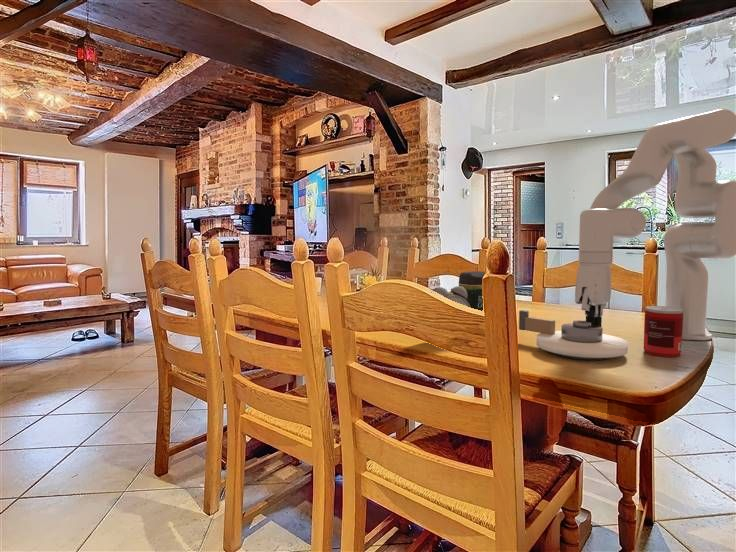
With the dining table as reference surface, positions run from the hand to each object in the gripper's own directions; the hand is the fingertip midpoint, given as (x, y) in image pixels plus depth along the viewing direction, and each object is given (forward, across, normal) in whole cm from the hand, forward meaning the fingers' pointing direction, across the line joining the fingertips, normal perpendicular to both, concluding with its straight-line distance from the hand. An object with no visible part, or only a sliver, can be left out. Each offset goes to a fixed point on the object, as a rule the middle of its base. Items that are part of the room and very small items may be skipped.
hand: (593, 331), depth 113 cm
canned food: (+5, -7, +13) cm, 16 cm away
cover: (+1, +6, 0) cm, 6 cm away
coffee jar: (+4, +9, -30) cm, 32 cm away
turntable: (+3, +7, -3) cm, 8 cm away
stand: (+4, +7, 0) cm, 8 cm away
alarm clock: (+4, +21, -30) cm, 37 cm away
